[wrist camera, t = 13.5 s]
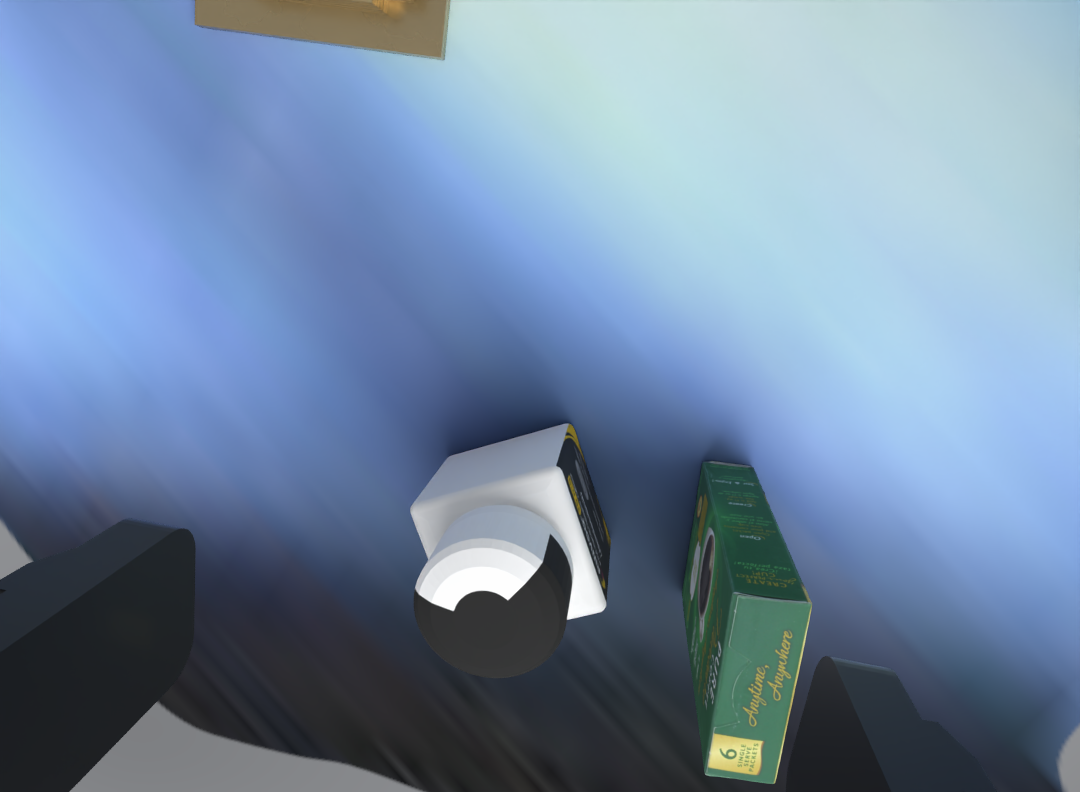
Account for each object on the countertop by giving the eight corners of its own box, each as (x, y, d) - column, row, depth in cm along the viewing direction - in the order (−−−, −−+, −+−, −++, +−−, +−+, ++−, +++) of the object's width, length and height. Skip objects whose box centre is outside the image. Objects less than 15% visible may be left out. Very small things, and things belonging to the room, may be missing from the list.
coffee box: (732, 606, 39) (779, 795, 26) (678, 598, 39) (699, 781, 27) (757, 465, 37) (820, 597, 24) (699, 458, 37) (733, 585, 25)
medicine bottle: (612, 542, 39) (603, 682, 28) (488, 572, 40) (431, 718, 29) (572, 419, 38) (545, 512, 26) (445, 455, 39) (366, 558, 27)
